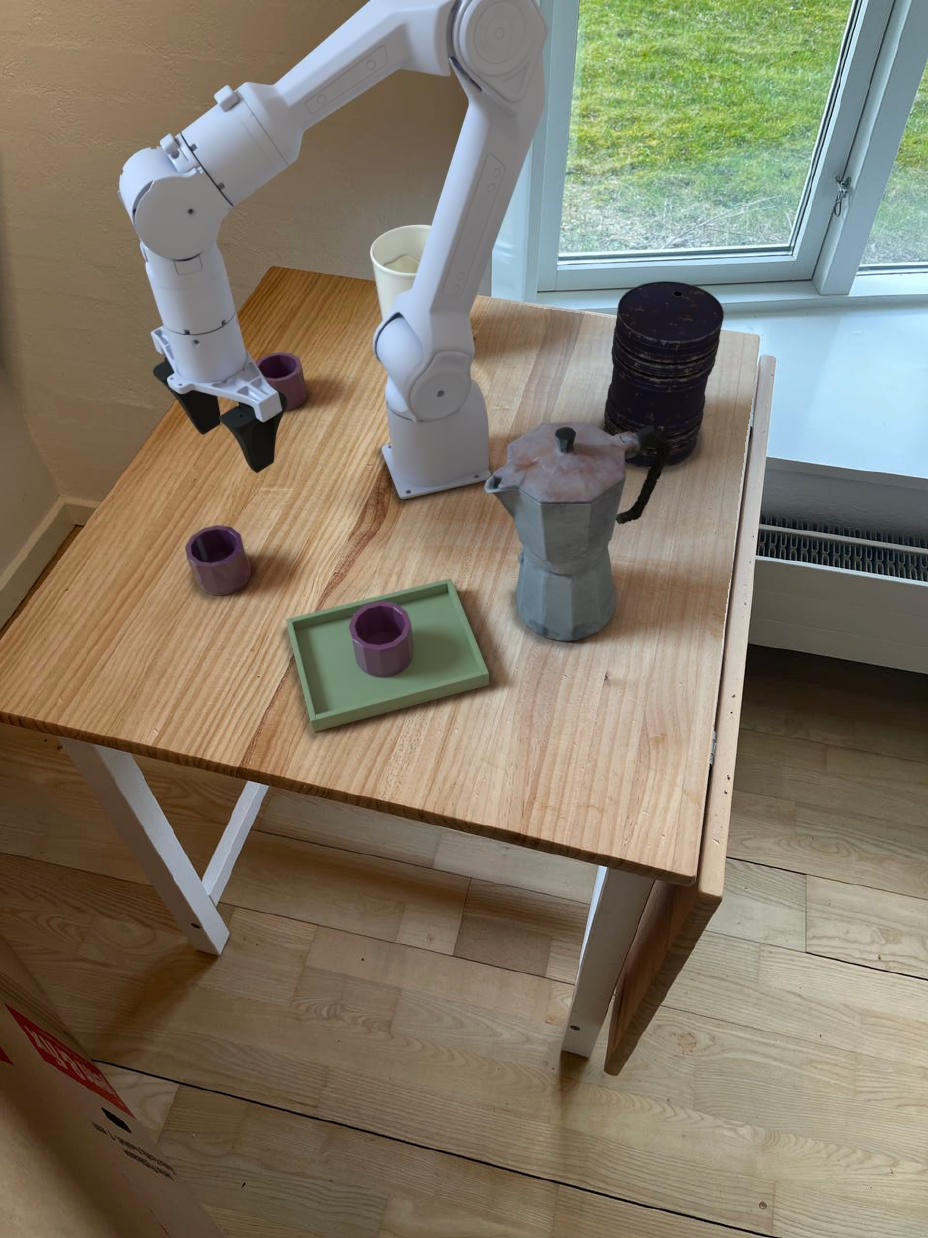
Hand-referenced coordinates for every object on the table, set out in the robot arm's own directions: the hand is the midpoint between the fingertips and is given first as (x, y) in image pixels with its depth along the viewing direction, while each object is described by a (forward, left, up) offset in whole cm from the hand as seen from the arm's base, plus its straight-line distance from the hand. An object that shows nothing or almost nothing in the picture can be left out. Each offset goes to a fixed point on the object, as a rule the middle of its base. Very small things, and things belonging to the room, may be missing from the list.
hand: (235, 446), depth 85 cm
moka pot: (-25, +19, -10) cm, 33 cm away
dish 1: (+4, +6, -9) cm, 12 cm away
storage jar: (-41, +1, -10) cm, 42 cm away
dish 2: (-8, +20, -9) cm, 23 cm away
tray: (-8, +20, -9) cm, 23 cm away
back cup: (-6, -18, -9) cm, 21 cm away
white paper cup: (-23, -22, -10) cm, 33 cm away
